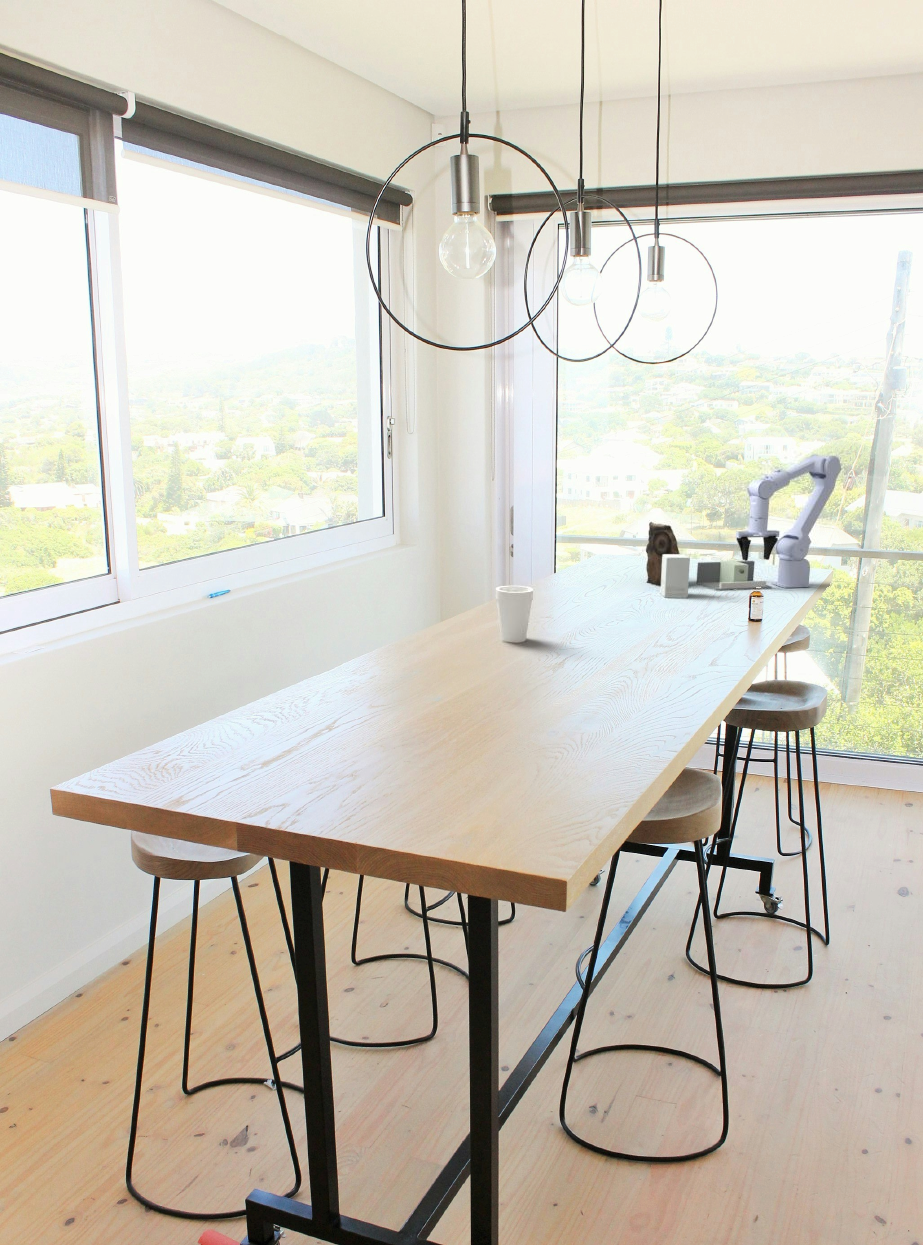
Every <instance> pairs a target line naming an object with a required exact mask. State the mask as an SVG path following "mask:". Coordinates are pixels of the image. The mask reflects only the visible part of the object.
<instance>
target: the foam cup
mask: <svg viewBox="0 0 923 1245" xmlns="http://www.w3.org/2000/svg"><path fill="white" fill-rule="evenodd" d="M533 599H534V588H532V587H530V586H525V585H502V586H498V587H495V600H496V606H497V613H498V614H497V615H498V624H499V632H500V633H499V634H500V640H501V641H502V642H504V643H505V642H506V643H523V642H525V641H527V640H526V638H527V633H528V627H529V622H530V621H529V620H530V615H531V609H532V602H533Z"/></svg>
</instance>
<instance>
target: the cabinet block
mask: <svg viewBox="0 0 923 1245" xmlns="http://www.w3.org/2000/svg"><path fill="white" fill-rule="evenodd" d="M737 561H738V560H720V562H721V566H720V582H746V581H747V579H748V565H747V564H744V563H741V562H737Z"/></svg>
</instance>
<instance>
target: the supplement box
mask: <svg viewBox="0 0 923 1245" xmlns="http://www.w3.org/2000/svg"><path fill="white" fill-rule="evenodd" d="M690 559H691V558H690V556H688V555H686V554H684V553H683V554H682V553H681V554H663V555H662V573H661V586H660V590H659V591H660V594H661V596H662V597H664V598H665V599H666V598H667V599H669V598H671V599H672V598H673V599H687V598H688V597H689V578H690V563H691V562H690V561H691V560H690Z"/></svg>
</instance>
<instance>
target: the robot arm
mask: <svg viewBox="0 0 923 1245" xmlns="http://www.w3.org/2000/svg"><path fill="white" fill-rule="evenodd" d="M841 471H842V465H841V461H840V459H839V457H838V456H836V455H820V454H819V455H818V454H815V453H814V454H811V455H809V456H806V457H805V458H804V459H803V460H801V461H800V462H798V463H797V464H795V465H793V466H791V467H789V468H788V469H786V470H785V469H783V468H782V469H781V468H776V469H774V470H773V472H771V473H770V474H768V475H763V476H762V478H761V479H758V478H756V479H753V480H752V481H751V482H750V483H749V485H748V487H747V489H746V490H747V494H748V496H749V502H750V506H749V519H748V530H739V531H735V536H734V537H735V538H736V542H737V544H738V545H739V549H740V553H741V561H749V560H748V559H749V551H750V545H751V543H752V540H751V538H762V539H763V559H764V560H765V561H768V560H769V561H770V557H771V554H772V551H773V550H775V553H776V554H777V557H778V558H779V559H778V571H777V572H778V573H777V581H775V582H773V581H772V582H771V584H772V585H775V586H778V587H781V588H785V589H788V588H792V589H793V588H810V587H811V585H810V575H811V574H810V573H811V572H810V571H811V565H810V561H809V560H808V559H806V557H807V556H808V553H809V548H810V545H811V543H812V540H811V538H810V536H809V535H810V533H811V531H812V529H813V527H814V526H815V524H816V522H817V520H818V518H819V517H820V515H821V513H822V511H823V510H824V508H825V506H826V504H827V502H829V501H828V500H829V499H830V497H831V495H832V493H833V492H834V490H835V487H836V483H837V478H838V476H839V474H840V473H841ZM807 473H808V475H809V476H810V478H811V480H812V481H813V483H814V485H815V486H814V489H813V491H812V493H811V494H810V495H809V497H808V499H807V501H806V503H805V505H804V506H803V508H802V510H801V512H800V514H799V516H798V517H797V519H796V521H795V523H794V524H793V526H792V527H791V528H790V529H788V530H786V531H785V532H784V533H783V534H782V536H781V537H780V530H773V529H772V530H771V529H770V530H769V529H768V524H769V523H768V521H769V510H770V507H769V506H770V498H772V496H774V493H775V492H777V491H780V490H781V489H784V488H785V487H787V486H789V485H790V483H791V481H792V480H794V479H797V478H799V477H801V476H803V475H806V474H807ZM779 537H780V538H779ZM749 538H750V539H749ZM774 547H775V548H774Z"/></svg>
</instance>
